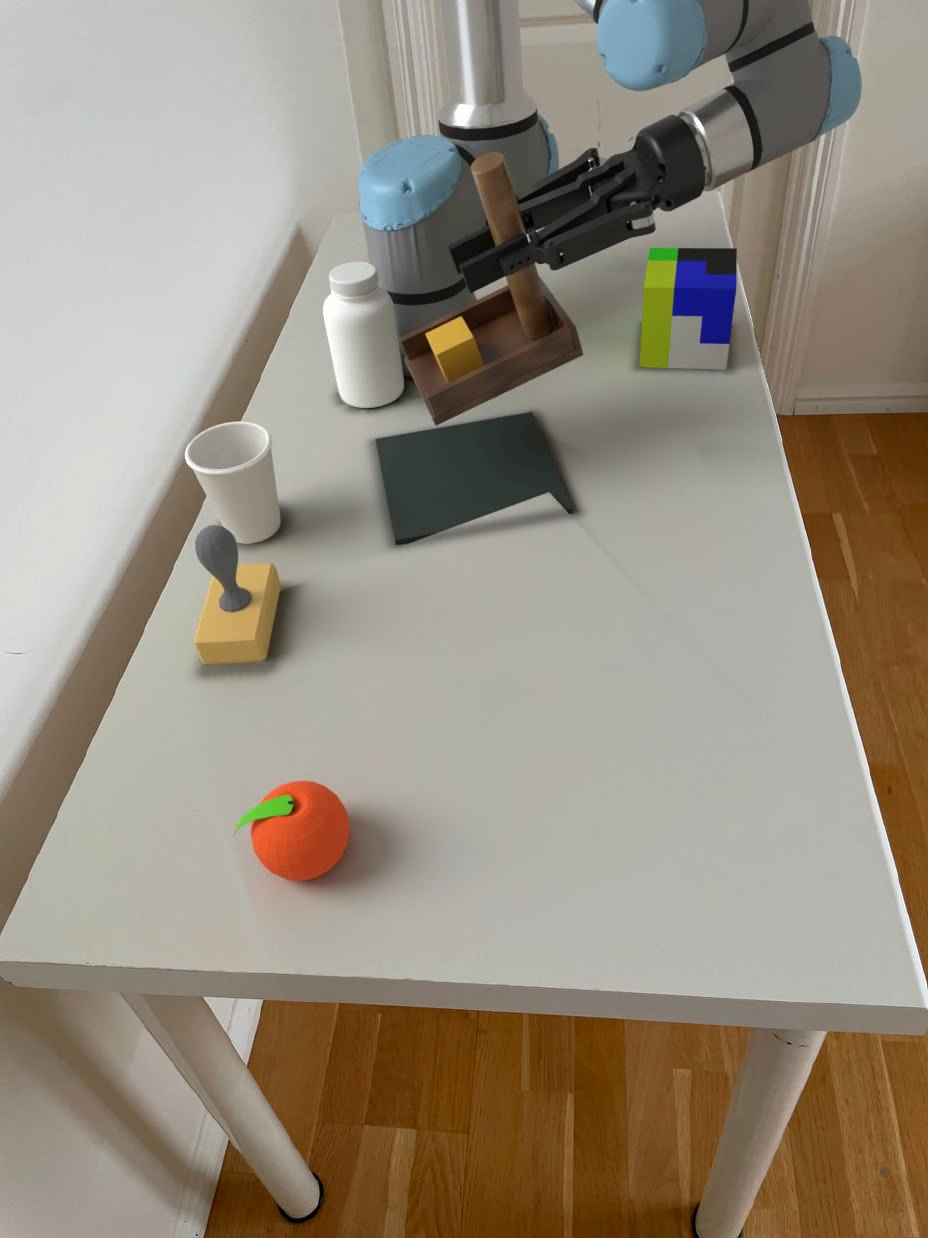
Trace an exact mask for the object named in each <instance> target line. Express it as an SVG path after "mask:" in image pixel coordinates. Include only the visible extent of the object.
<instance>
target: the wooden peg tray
mask: <svg viewBox="0 0 928 1238" xmlns="http://www.w3.org/2000/svg"><path fill="white" fill-rule="evenodd" d="M471 171H472V174H473V177H474V181H475V184H476V187H477V190H478V193H479V196H480V199H481V202H482V205H483V208H484V211H485V215H486V218H487V221H488V224H489V227H490V230H491V233H492V236H493V239H494V242H495V245H496V246H498V245H500V244H502V243H504V242H506V241H508V240H510V239H512V238H514V237H516V236H518V235H520V234H522V233H525V235H526V236H527V239H528V242H530V240H529V236H528V234H526V231H525V227H524V224H523V220H522V217H521V213H520V210H519V207H518V203H517V200H516V196H515V193H514V189H513V186H512V183H511V179H510V176H509V172H508V169H507V165H506V162H505V159H504V156H503V155H502V154H501V153H498V152H492V153H487V154H485V155H482V156H480V157H479V158H477V159H476V160H475V161H474V162H473V163H472V165H471ZM505 279H506V282H507V285H505V286H503V287H501V288H499V289H497V290H495V291H493V292H491V293H489V294H487V295H485V296H483V297H480V298H479V299H477V300H476V301H474V302H472V303H470V304H468V305H466V306H464V307H462V308H460V309H458V310H456V311H454V312H452V313H450V314H447V315H445V316H443V317H441V318H439V319H437V320H435V321H433V322H431V323H429V324H427V325H425V326H423V327H421V328H419V329H417V330H415V331H413V332H411V333H408V334H406V335H404V336H402V337H400V338H399V340H400V342H401V344H402V347H403V349H404V351H405V353H406V355H407V357H406V358H404V360H405V362H406V364H407V367H408V369H409V371H410V373H411V375H412V377H413V378H412V380H413V381H414V384H415V386H416V388H417V389H418V392H419V394H420V396H421V399H422V400H423V402H424V405H425V407H426V409H427V411H428V413H429V415H430V418H431V419H432V422H433V424H434V425H435V427H436V426H437V427H438V425H441V424H443V423H445V422H448V421H449V420H452V419H454V418H455V417H457V416H459V415H462V414H463V413H466V412H468V411H470V410H472V409H474V408H476V407H479V406H481V405H482V404H484V403H487V402H489V401H490V400H493V399H496V398H497V397H499V396H501V395H503V394H505V393H508V392H510V391H511V390H513V389H515V388H517V387H520V386H522V385H524V384H526V383H528V382H530V381H532V380H534V379H536V378H539V377H541V376H543V375H545V374H547V373H549V372H550V371H553V370H555V369H557V368H559V367H561V366H564V365H565V364H567V363H570V362H572V361H574V360H576V359H578V358H580V357H582V356H584V351H583V348H582V344H581V341H580V337H579V334H578V333H579V332H578V329H577V326H576V324H575V323H574V322H573V321H572V319H571V318H570V317H569V315H568V314H567V312H566V311H565V310H564V309H563V306H561V304H560V303H559V301H558V300H557V298H556V297H555V296H554V294H553V293H552V292H551V290H550V289H549V288H548V286H547V285H546V283H545V282H544V281H543V279H542V278H541V276H540V275H539V272H538V269H537V265H536V263H534V264H532V265H530V266H528V267H526V268H524V269H522V270H520V271H518V272H516V273H514V274H512V275H509V276H505ZM461 316H462V318H463V319H464V321H465V323H466V325H467V326H468V328H469V330H470V332H471V333H472V335H473V337H474V339H475V342H476V344H477V347H478V350H479V352H480V355H481V358H482V360H483V363H484V366H482V367H480V368H478V369H476V370H474V371H472V372H470V373H468V374H466V375H463V376H461V377H459V378H457V379H455V380H453V381H451V382H449V383H448V382H447V380H446V378H445V376H444V374H443V373H442V371H441V369H440V367H439V365H438V363H437V360H436V358H435V355H434V353H433V351H432V348H431V346H430V344H429V341H428V339H427V337H426V333H428V332H430V331H432V330H434V329H436V328H438V327H440V326H442V325H444V324H446V323H448V322H450V321H452V320H454V319H456V318H459V317H461Z"/></svg>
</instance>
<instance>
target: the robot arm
mask: <svg viewBox="0 0 928 1238" xmlns="http://www.w3.org/2000/svg"><path fill="white" fill-rule="evenodd" d="M519 2H520V0H438V5H439V14H440V24H441V33H442V34H441V35H442V43H443V51H444V61H445V71H446V81H447V93H448V97H447V99H446V100H445V102H444V103H443V105H442V106H441V108H440V109H439V110H438V112H437V121H438V131H439V135H435V134H421V135H420V134H419V135H413V136H410V137H409V138H407V139H401V138H399V139H397V140H395V141H391V142H389V143H387V144H385V145H383V146H381V147H380V148H377V150H375V151H374V152H373V153H371V154H370V155H369V156H368V158H366V159H365V161H364V162H363V164H362V165H361V167H360V168H359V169H360V170H359V172H358V176H357V177H358V178H357V186H358V195H359V196H358V197H359V201H358V209H359V214H360V217H361V220H362V224H363V231H364V236H365V237H364V238H365V241H366V248H367V255H368V261H369V264H372V265H373V266H374V267H375V268H376V269H377V274H378V286H379V287H381V288H383V289H384V290H385V291H387V292H388V294H389V295H390V297H391V299H392V302H393V307H394V314H395V321H396V328H397V335H398V342H399V349H400V356H401V363H402V370H403V377H404V378H411V379H413V377H412V375H411V373H410V371H409V369H408V367H407V364H406V362H405V360H404V358H406V357H407V355H406V353H405V351H404V349H403V347H402V344H401V342H400V340H399V338H400V337H402V336H404V335H406V334H408V333H411V332H413V331H415V330H417V329H419V328H421V327H423V326H425V325H427V324H429V323H431V322H433V321H435V320H437V319H439V318H441V317H443V316H445V315H447V314H450V313H452V312H454V311H456V310H458V309H460V308H462V307H464V306H466V305H468V304H470V303H472V302H474V301H476V300H478V299H477V296H476V294H475V292H477V291H479V290H481V289H483V288H485V287H487V286H489V285H491V284H493V283H495V282H497V281H499V280H501V279H503V278H506V276H509V275H512V274H514V273H516V272H518V271H520V270H522V269H524V268H526V267H528V266H530V265H532V264H534V263H535V264H537V265H544V264H545V265H548V267H549V269H550V270H551V271H558V270H561V269H563V268H565V267H567V266H570V265H572V264H574V263H577V262H579V261H582V260H583V259H586V258H589V257H591V256H593V255H595V254H597V253H600V252H602V251H604V250H607V249H609V248H611V247H613V246H616V245H618V244H620V243H623V242H625V241H628V240H630V239H633V238H637V237H638V238H639V237H643V236H647V235H651V234H653V233H654V232H655V231H656V229H657V226H656V221H655V215H654V212H655V211H656V210H657V209H659V210H661V211H663V212H667V213H668V212H672V211H675V210H676V209H679V208H680V207H682V206H684V205H686V204H689V203H690V202H692V201H694V200H697V199H698V198H700V197H701V196H702V194H703V192H704V191H705V192H711V191H713V190H715V189H717V188H719V187H721V186H723V185H725V184H727V183H729V182H731V181H733V180H734V179H736V178H739V177H740V176H742V175H744V174H747V173H750V172H751V171H753V170H756V169H758V168H760V167H762V166H765V165H766V164H769V163H771V162H772V161H774V160H777V159H779V158H781V157H783V156H785V155H787V154H789V153H792V152H793V151H796V150H797V149H800V148H801V147H803V146H805V145H808V144H810V143H813V142H816V141H817V140H818V139H819V138H820V137H822V136H823V135H825V134H827V133H828V132H830V131H832V130H833V129H836V128H837V127H839V126H842V125H843V124H845V123H846V122H848V121H849V120H850V119H851V118H852V117H853V115H854V114H855V113H856V111H857V110H858V107H859V105H860V102H861V97H862V89H863V88H862V87H863V84H862V83H863V81H862V80H863V79H862V73H861V68H860V64H859V61H858V59H857V58H856V57H854V55H853V53H852V47H851V46H850V44H849V43H848V42H847V41H846V40H845V39H843V38H842V37H840V36H838V35H827V36H825V37H822V36H821V37H819V35H818V31H817V29H815V25H814V22H813V21H814V20H813V16H812V12H811V7H810V4H809V3H810V2H809V0H573V2H574V3H575V4H576V5H577V6H578V7H580V9H581V10H583V12H584V13H585V14H586V15H587V16H588V17H590V19H591V20H592V21H593V22H594V23H595V24H596V25H597V27H596V47H597V51H598V55H600V56H601V59H602V62H603V65H604V71H606V73H607V75H609V77H610V78H611V79H612V80H613V81H614V82H615V83H616V84H618V85H619V86H620V87H622V88H625V89H626V90H630V91H633V92H646V91H651V90H654V89H656V88H660V87H663V86H666V85H668V84H673V83H676V82H678V81H680V80H682V79H684V78H686V77H687V76H688V75H689V74H690V73H691V72H693V71H694V70H696V69H698V68H700V67H701V66H704V65H706V64H707V63H709V62H710V61H712V60H715V59H717V58H720V57H722V56H723V55H724V57H725V60H726V64H727V66H728V69H729V72H730V73H731V76H732V80H733V82H732V83H731V84H730V85H727V86H724V87H723V88H720V89H718V90H716V91H715V92H712V93H710V94H709V95H707V96H704V97H702V98H701V99H699V100H697V101H695V102H692V103H690V104H688V105H686V106H684V107H682V108H680V109H679V111H678V113H677V115H675V114H668V115H667V116H665V117H663V118H661V119H659V120H657V121H655V122H653V123H651V124H650V125H648V126H645V127H643V128H641V129H640V130H639V131H638V132H637V134H636V136H635V139H634V144H633V146H632V147H631V149H630V150H627V151H623V152H621V153H616V154H613V155H611V156H610V157H608V158H606V157H603V156H600V155H599V150H598V148H597V147H590V148H588V149H587V150H585V151H584V152H583V153H582V154H581V155H579V156H578V157H577V158H576V159H575V160H573V161H572V162H570V163H568V164H567V165H565V166H563V167H561V168H560V154H559V148H558V143H557V138H556V137H555V134H554V133H551V132H550V131H549V128H550V125H549V123H548V122H547V120H546V119H545V118H544V117H543V116H542V115H541V114H539V113H538V102H537V100H536V99H535V98H534V97H533V96H532V95H530V93H528V92H527V90H525V89H526V88H525V87H524V78H523V77H524V76H523V59H522V43H521V42H522V41H521V23H520V3H519ZM492 152H498V153H501V154H502V155H503V156H504V159H505V162H506V165H507V169H508V172H509V176H510V179H511V183H512V186H513V189H514V193H515V196H516V200H517V203H518V207H519V210H520V213H521V217H522V220H523V224H524V227H525V231H526V234H527V236H526V235H525V233H522V234H520V235H518V236H516V237H514V238H512V239H510V240H508V241H506V242H504V243H502V244H500V245H498V246H496V245H495V242H494V239H493V236H492V233H491V230H490V227H489V224H488V221H487V218H486V215H485V211H484V208H483V205H482V202H481V199H480V196H479V193H478V190H477V187H476V184H475V181H474V177H473V174H472V171H471V165H472V163H473V162H474V161H475V160H476V159H477V158H479V157H480V156H482V155H485V154H487V153H492ZM527 237H528V239H527ZM528 241H529V242H528Z"/></svg>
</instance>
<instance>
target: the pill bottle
mask: <svg viewBox="0 0 928 1238" xmlns="http://www.w3.org/2000/svg"><path fill="white" fill-rule="evenodd" d="M328 281H329V286H330V294H329V295H328V296H327V297H326V298H325V300H324V303H323V307H322V315H323V320H324V327H325V331H326V336H327V340H328V345H329V350H330V355H331V360H332V365H333V370H334V375H335V380H336V385H337V391H338V393H339V397H340V398H341V400H342V402H344V403H345V404H347V405H348V406H351V407H354V408H359V409H370V408H378V407H382V406H384V405H388V404H390V403H392V402H394V401H396V400H397V399H398V398H400V396H401V395H402V394H403V392H404V389H405V379H404V378H405V377H403V370H402V363H401V356H400V349H399V342H398V335H397V328H396V321H395V314H394V307H393V302H392V299H391V297H390V295H389V294H388V292H387V291H385V290H384V289H383V288H381V287H379V286H378V274H377V269H376V268H375V267H374V266H373V265H372V264H370V262H365V261H351V262H350V261H349V262H346V263H343V264H342V263H341V264H340V265H337V266H335V267H333V268H332V269H331V271H330V272H329V274H328Z"/></svg>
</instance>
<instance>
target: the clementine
mask: <svg viewBox="0 0 928 1238" xmlns="http://www.w3.org/2000/svg"><path fill="white" fill-rule="evenodd" d="M247 823H251V825H250V839H251V843H252V848H253V852H254V854H255V856H256V857H257V859H258V860H259V862H260V863H261V865H262V866H263V867H264V868H266V869H267V871H269V872H270V873H271V874H273V875H276V876H278V877H280V878H282V879H285V880H287V881H296V882H301V881H310V880H313V879H316V878H319V877H321V876H322V875H324V874H326V873H328V872H330V871H331V869H333V868H334V867H335V866H336V865H337V864H338V862H339V861H340V860H341V858H342V857H343V855H344V853H345V851H346V849H347V846H348V843H349V839H350V817H349V815H348V811H347V808H346V807H345V804H344V803H343V801H341V799H340V798H339V796H338V795H337V794H336V793H335V792H334V791H332V790H331V789H329V788H328V787H327V786H325V785H323V784H321V783H318V782H315V781H311V780H296V781H290V782H287V783H284V784H281V785H279V786H278V787H276V788H274V789H273V790H271V791H270V792H268V794H267V795H265V796H264V797H263V798H262V800H261V801H260V802H259V804H258V805H256V806H254V807H253V808H251V809H250V810H249V811H248V812H246V813H245V814H244V815H243V816H242V817H241V818H240V819H239V821H238V822H237V823H236V825H235V828H234V832H233V836H235V835H236V833H237V831H238V829H240V828H241V827H242V826H243V825H245V824H247Z"/></svg>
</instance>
